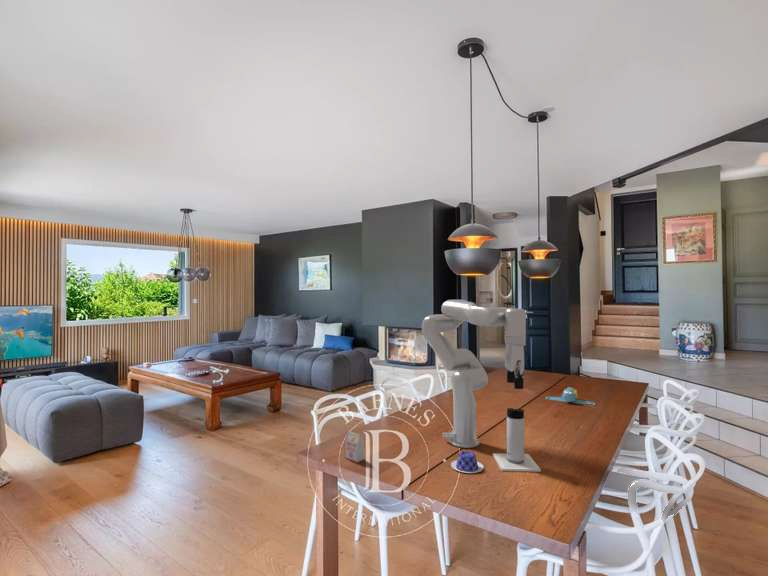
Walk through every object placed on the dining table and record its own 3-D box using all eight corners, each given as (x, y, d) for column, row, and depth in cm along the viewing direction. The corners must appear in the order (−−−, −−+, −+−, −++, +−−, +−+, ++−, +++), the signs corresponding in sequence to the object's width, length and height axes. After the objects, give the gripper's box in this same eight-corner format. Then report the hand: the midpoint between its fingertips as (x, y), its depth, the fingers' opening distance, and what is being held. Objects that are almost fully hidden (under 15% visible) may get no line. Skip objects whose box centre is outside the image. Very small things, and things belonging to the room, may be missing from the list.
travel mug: (506, 462, 151) (506, 409, 151) (507, 456, 157) (507, 405, 157) (523, 465, 149) (523, 411, 149) (524, 458, 155) (524, 406, 155)
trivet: (501, 471, 146) (501, 468, 146) (492, 455, 160) (492, 453, 160) (540, 471, 146) (540, 469, 146) (528, 455, 160) (528, 453, 160)
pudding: (445, 463, 154) (445, 449, 154) (473, 459, 157) (473, 446, 157) (460, 477, 142) (460, 462, 142) (490, 472, 146) (490, 458, 146)
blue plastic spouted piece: (597, 388, 238) (594, 394, 226) (598, 403, 238) (594, 409, 226) (548, 382, 254) (542, 387, 241) (548, 396, 254) (542, 402, 241)
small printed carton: (351, 454, 161) (351, 429, 161) (363, 459, 156) (363, 433, 156) (344, 457, 158) (344, 432, 158) (356, 462, 153) (356, 436, 154)
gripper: (499, 338, 162) (499, 380, 162) (511, 343, 145) (511, 391, 145) (518, 338, 162) (518, 380, 162) (532, 343, 145) (532, 391, 145)
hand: (514, 385), depth 153 cm, fingers open, 9 cm apart
